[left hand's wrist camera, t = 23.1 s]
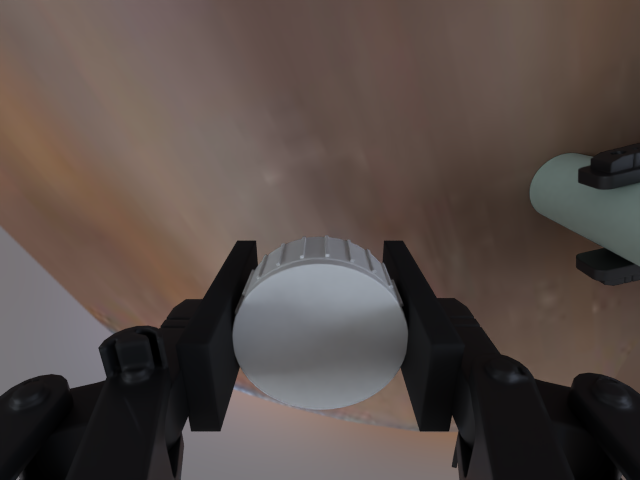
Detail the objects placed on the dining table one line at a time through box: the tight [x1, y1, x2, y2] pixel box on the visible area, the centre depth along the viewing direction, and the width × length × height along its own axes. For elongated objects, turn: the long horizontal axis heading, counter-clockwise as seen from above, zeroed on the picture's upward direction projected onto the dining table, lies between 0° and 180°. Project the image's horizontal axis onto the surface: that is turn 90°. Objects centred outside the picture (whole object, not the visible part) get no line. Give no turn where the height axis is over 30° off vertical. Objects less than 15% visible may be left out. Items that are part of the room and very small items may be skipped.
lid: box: [232, 235, 408, 410], centre depth 11 cm, size 5×5×2 cm
